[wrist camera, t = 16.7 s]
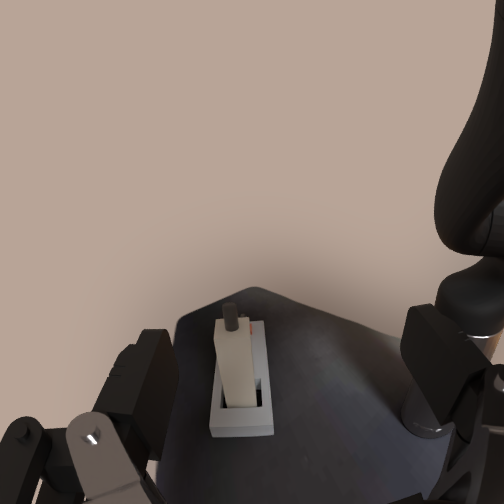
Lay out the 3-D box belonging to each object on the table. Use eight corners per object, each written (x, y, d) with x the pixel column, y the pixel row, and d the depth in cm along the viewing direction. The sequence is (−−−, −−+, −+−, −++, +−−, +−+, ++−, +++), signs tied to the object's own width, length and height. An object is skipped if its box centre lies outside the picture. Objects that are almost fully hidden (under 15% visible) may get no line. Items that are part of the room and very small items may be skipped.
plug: (229, 395, 41) (212, 297, 34) (256, 393, 41) (246, 295, 35) (228, 415, 37) (209, 316, 31) (257, 413, 37) (247, 314, 31)
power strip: (223, 319, 60) (222, 306, 59) (262, 317, 60) (261, 303, 59) (212, 437, 33) (208, 423, 32) (273, 434, 33) (273, 420, 32)
